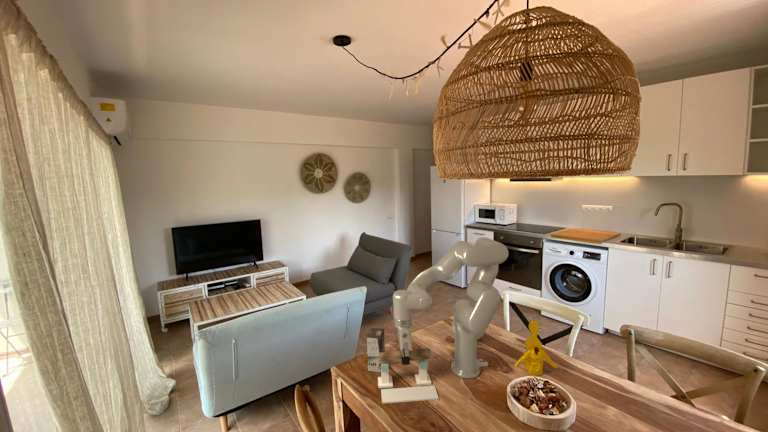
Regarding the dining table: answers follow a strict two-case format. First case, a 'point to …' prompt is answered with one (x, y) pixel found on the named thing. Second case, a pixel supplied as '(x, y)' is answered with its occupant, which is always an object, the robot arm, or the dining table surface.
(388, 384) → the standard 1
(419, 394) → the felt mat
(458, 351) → the robot arm
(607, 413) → the dining table surface
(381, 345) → the coffee box
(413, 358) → the rail
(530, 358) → the figure statuette
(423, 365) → the toy blocks
